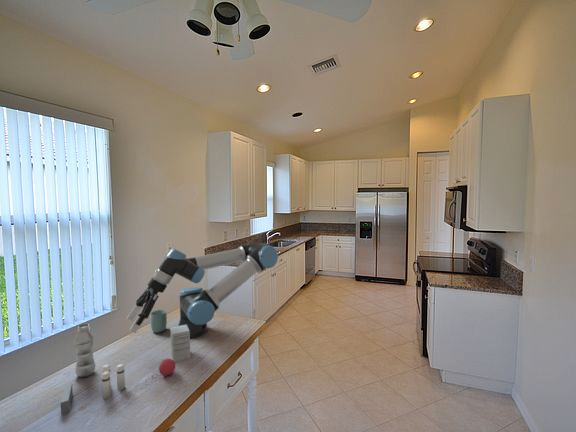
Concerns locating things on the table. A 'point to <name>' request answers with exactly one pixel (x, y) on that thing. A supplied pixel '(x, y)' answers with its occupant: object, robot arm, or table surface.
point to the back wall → (66, 399)
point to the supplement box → (180, 343)
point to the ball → (167, 367)
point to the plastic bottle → (84, 351)
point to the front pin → (120, 377)
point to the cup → (158, 320)
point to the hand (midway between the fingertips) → (130, 325)
